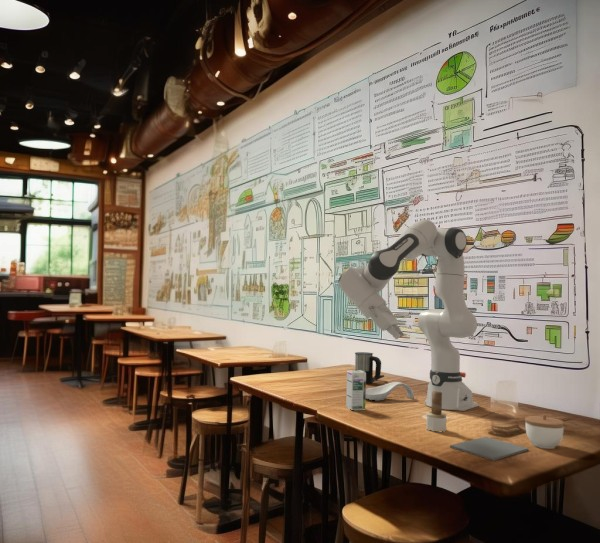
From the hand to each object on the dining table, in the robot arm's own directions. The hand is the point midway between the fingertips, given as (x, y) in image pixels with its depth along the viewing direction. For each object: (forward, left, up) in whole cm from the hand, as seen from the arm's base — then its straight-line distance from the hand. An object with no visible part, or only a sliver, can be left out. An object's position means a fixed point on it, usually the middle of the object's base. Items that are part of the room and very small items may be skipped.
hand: (400, 337), depth 177 cm
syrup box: (-5, -26, -30) cm, 40 cm away
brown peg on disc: (-7, +10, -25) cm, 28 cm away
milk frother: (-56, -69, -30) cm, 93 cm away
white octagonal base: (-7, +10, -30) cm, 32 cm away
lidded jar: (-21, +39, -30) cm, 54 cm away
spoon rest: (-31, -34, -30) cm, 55 cm away
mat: (-3, +32, -30) cm, 44 cm away
